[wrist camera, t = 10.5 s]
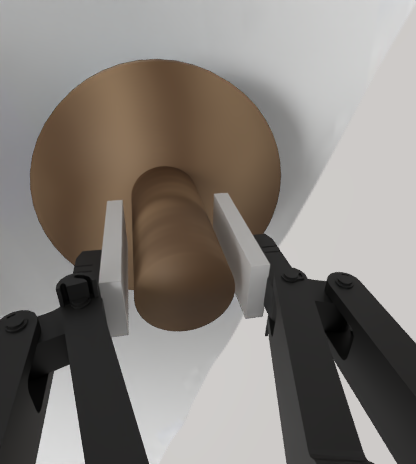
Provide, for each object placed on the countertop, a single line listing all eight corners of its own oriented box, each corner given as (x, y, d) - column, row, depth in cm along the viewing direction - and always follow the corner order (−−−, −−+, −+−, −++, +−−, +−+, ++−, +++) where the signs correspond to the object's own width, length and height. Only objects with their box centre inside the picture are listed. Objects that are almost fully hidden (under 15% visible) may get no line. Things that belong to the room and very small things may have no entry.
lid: (61, 291, 25) (27, 435, 16) (2, 56, 17) (-124, 93, 8) (261, 270, 27) (322, 383, 19) (289, 60, 20) (416, 91, 11)
